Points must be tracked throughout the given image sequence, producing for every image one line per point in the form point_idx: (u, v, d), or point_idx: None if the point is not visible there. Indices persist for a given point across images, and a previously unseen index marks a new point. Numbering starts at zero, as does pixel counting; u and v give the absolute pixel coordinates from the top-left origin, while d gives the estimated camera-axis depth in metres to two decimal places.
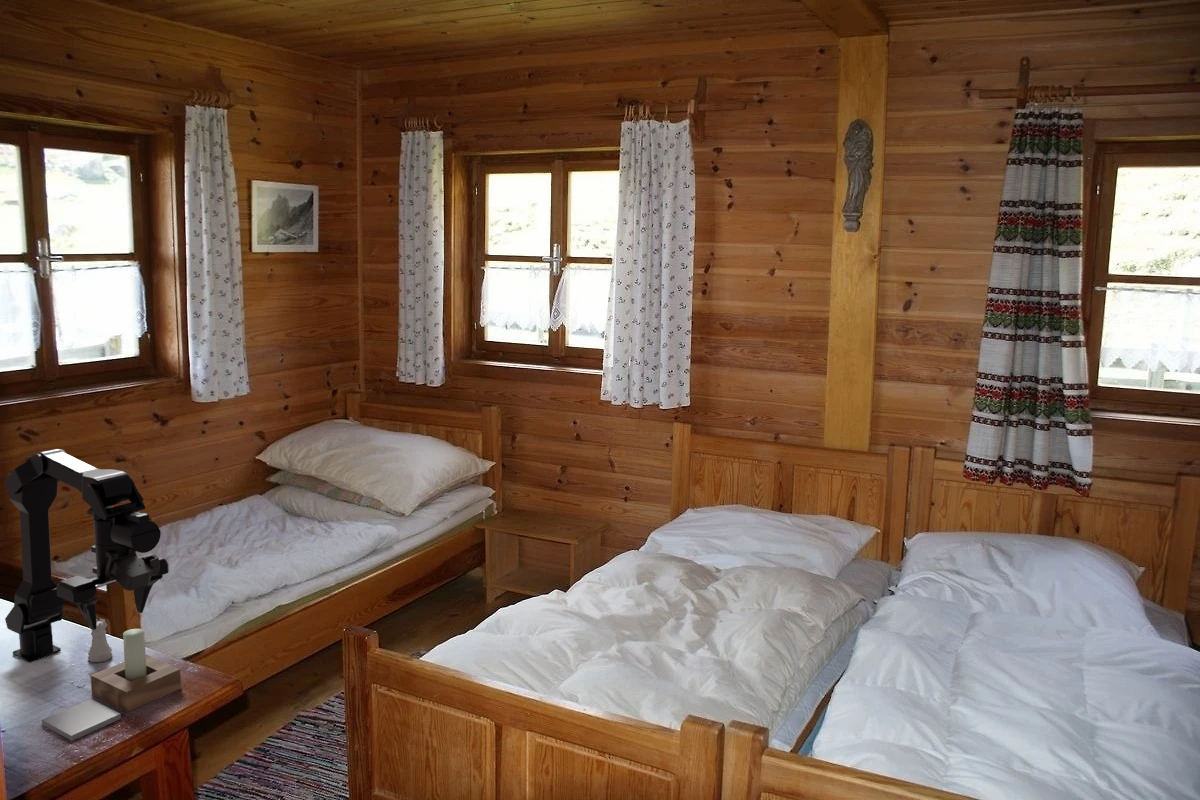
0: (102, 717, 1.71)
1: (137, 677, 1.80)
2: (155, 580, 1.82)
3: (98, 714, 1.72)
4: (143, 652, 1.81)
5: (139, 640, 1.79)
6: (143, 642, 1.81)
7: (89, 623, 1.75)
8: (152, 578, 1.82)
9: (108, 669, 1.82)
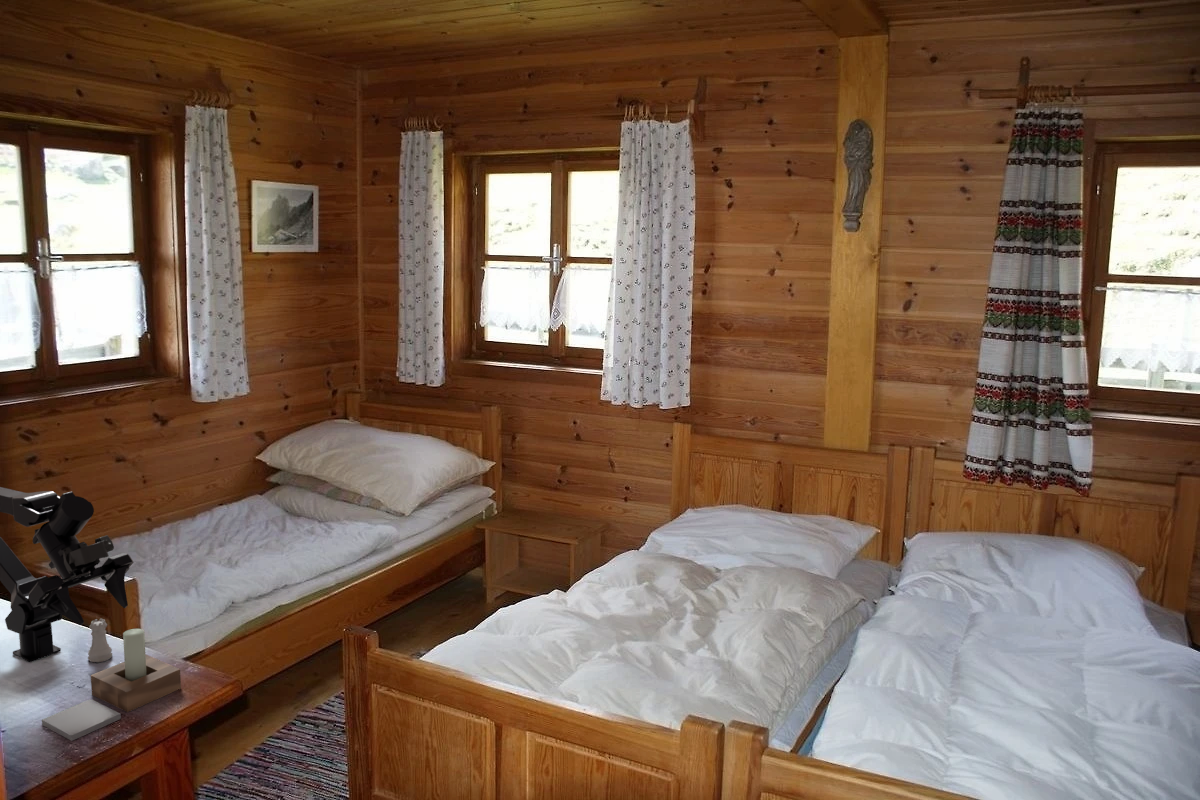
0: (102, 717, 1.71)
1: (137, 677, 1.80)
2: (122, 569, 1.89)
3: (98, 714, 1.72)
4: (143, 652, 1.81)
5: (139, 640, 1.79)
6: (143, 642, 1.81)
7: (75, 619, 1.79)
8: None
9: (108, 669, 1.82)
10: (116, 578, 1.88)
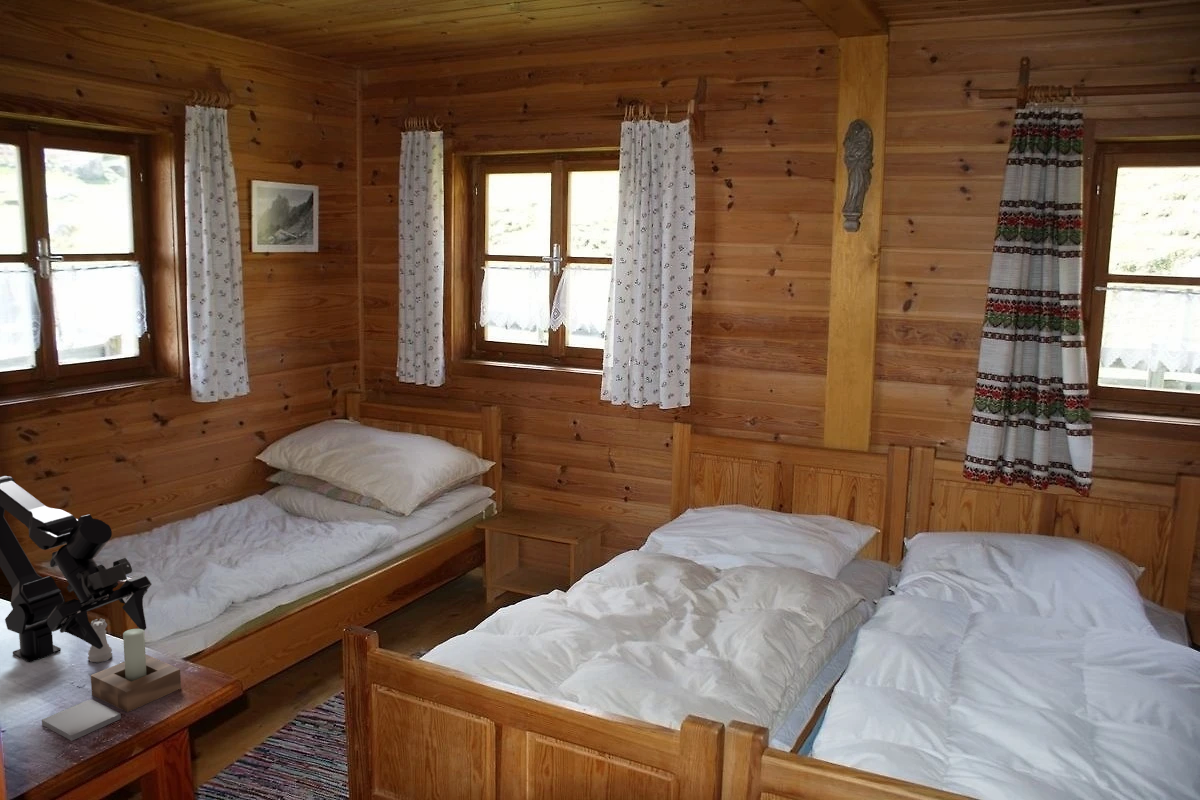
0: (102, 717, 1.71)
1: (137, 677, 1.80)
2: (141, 592, 1.88)
3: (98, 714, 1.72)
4: (143, 652, 1.81)
5: (139, 640, 1.79)
6: (143, 642, 1.81)
7: (94, 644, 1.78)
8: None
9: (108, 669, 1.82)
10: (134, 601, 1.87)
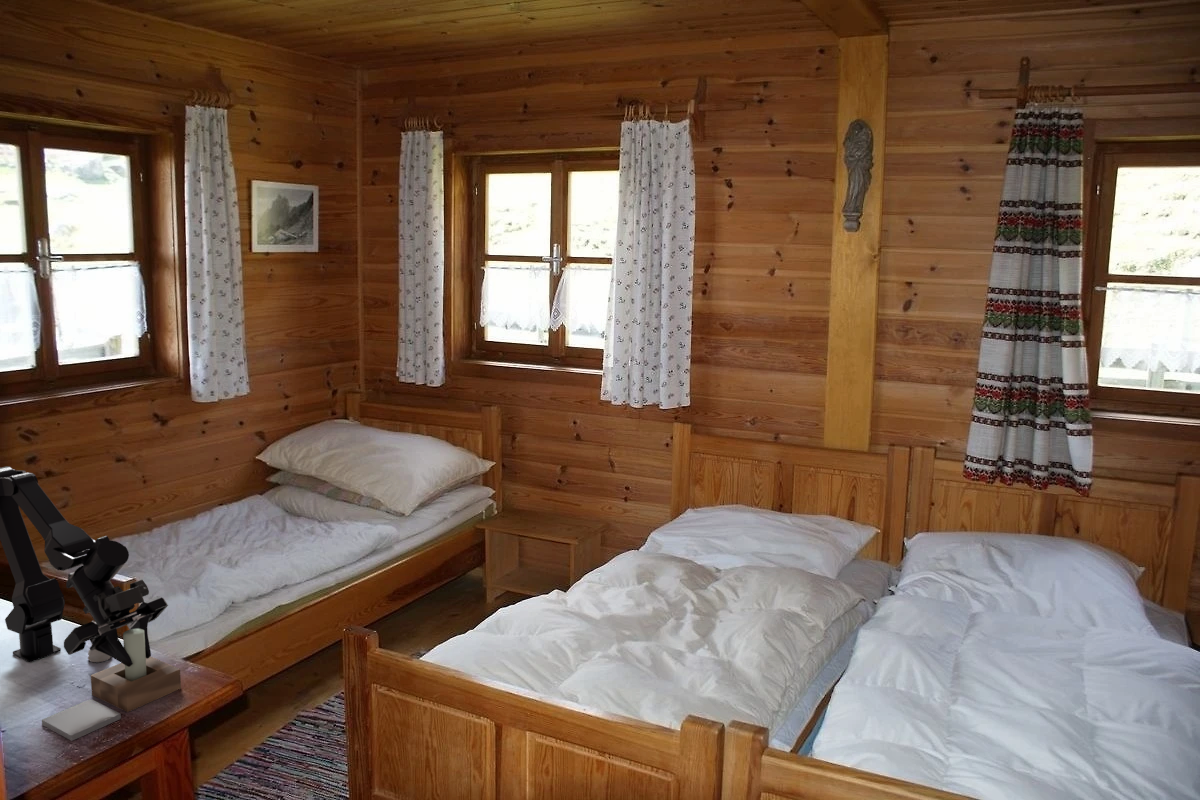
0: (102, 717, 1.71)
1: (137, 677, 1.80)
2: (145, 618, 1.84)
3: (98, 714, 1.72)
4: (143, 652, 1.81)
5: (139, 640, 1.79)
6: (143, 642, 1.81)
7: (124, 661, 1.79)
8: None
9: (108, 669, 1.82)
10: (139, 627, 1.83)
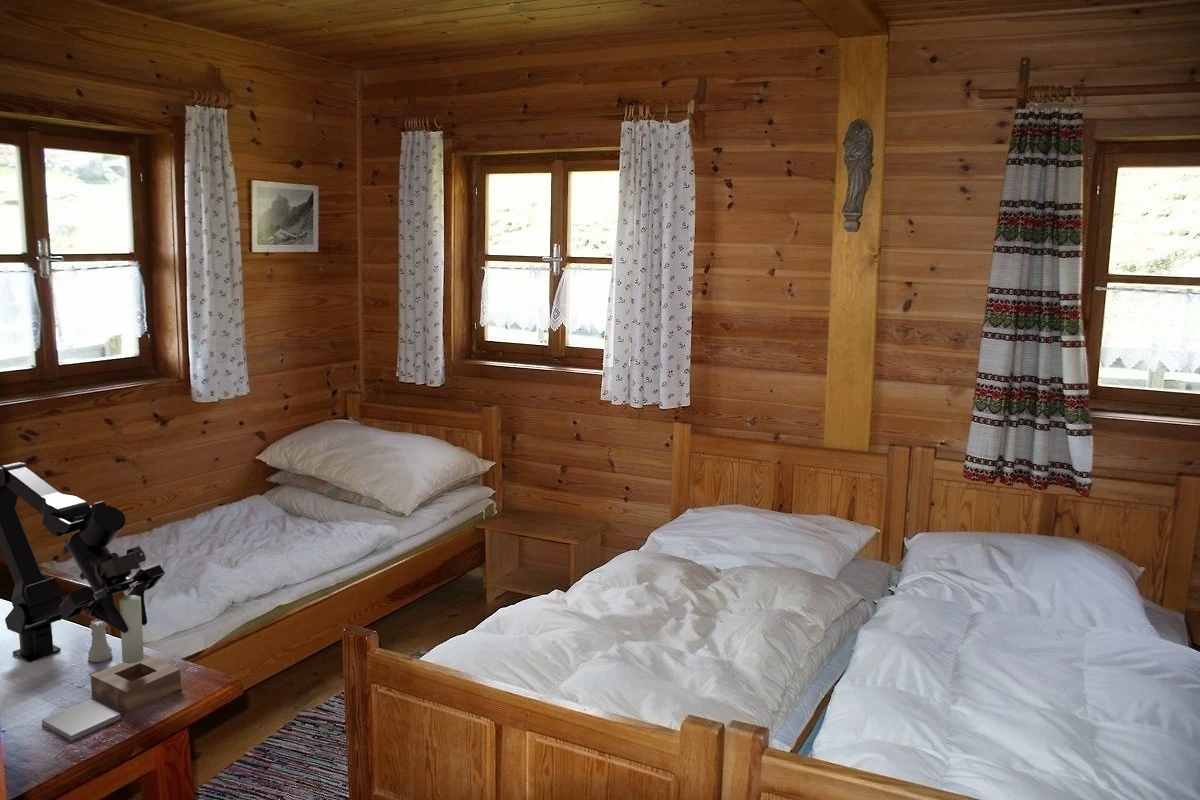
0: (102, 717, 1.71)
1: (133, 644, 1.79)
2: (142, 585, 1.82)
3: (98, 714, 1.72)
4: (139, 618, 1.79)
5: (135, 606, 1.78)
6: (139, 609, 1.79)
7: (120, 628, 1.77)
8: None
9: (108, 669, 1.82)
10: (135, 594, 1.81)
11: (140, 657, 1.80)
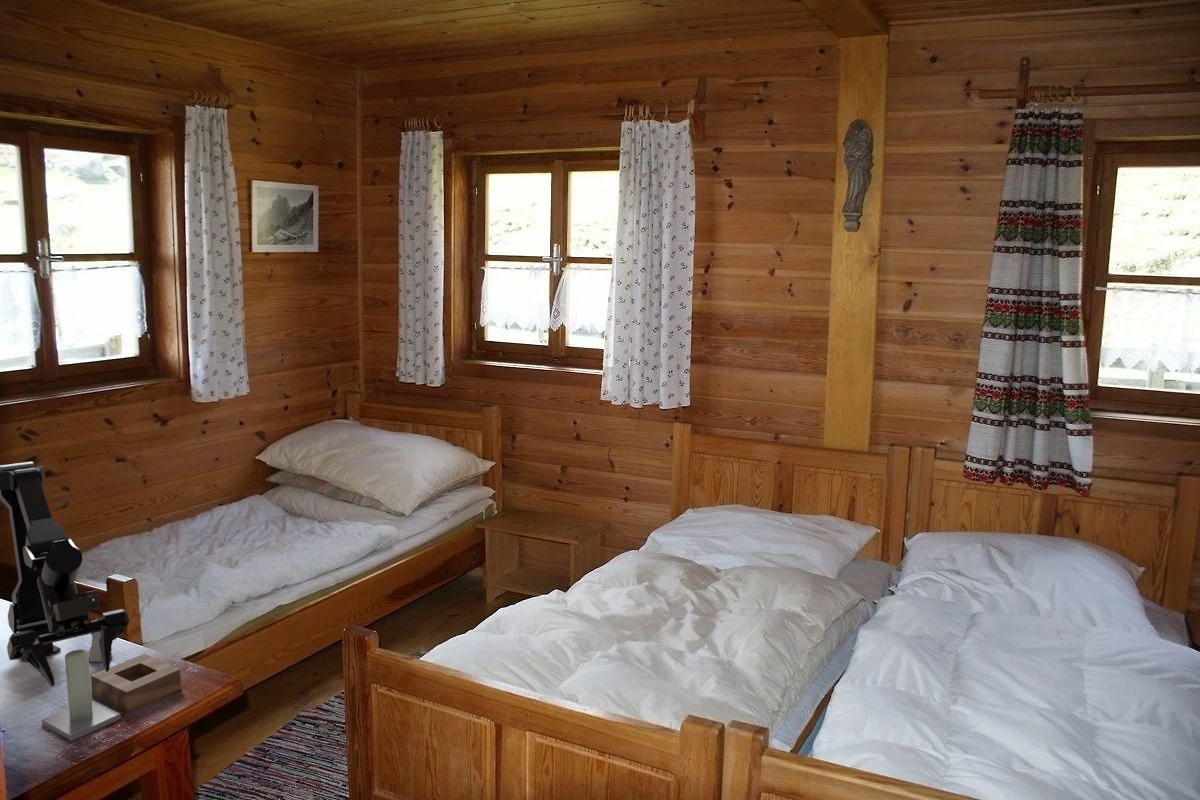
0: (102, 717, 1.71)
1: (76, 702, 1.69)
2: (111, 628, 1.73)
3: (98, 714, 1.72)
4: (84, 676, 1.69)
5: (77, 664, 1.67)
6: (84, 666, 1.68)
7: (47, 679, 1.66)
8: None
9: None
10: (103, 637, 1.73)
11: (86, 716, 1.70)
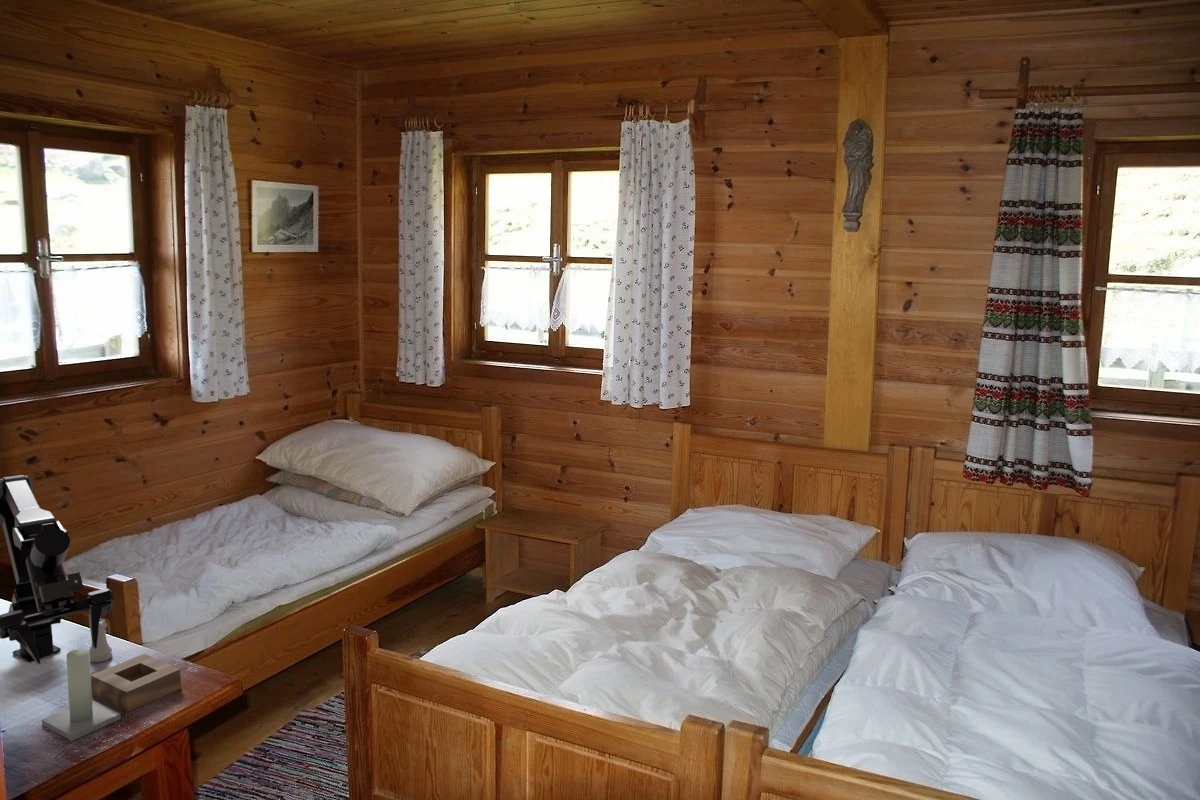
0: (102, 717, 1.71)
1: (77, 701, 1.69)
2: (98, 607, 1.80)
3: (98, 714, 1.72)
4: (85, 675, 1.69)
5: (79, 662, 1.68)
6: (85, 665, 1.69)
7: (34, 658, 1.73)
8: None
9: (108, 669, 1.82)
10: (91, 616, 1.80)
11: (86, 716, 1.70)
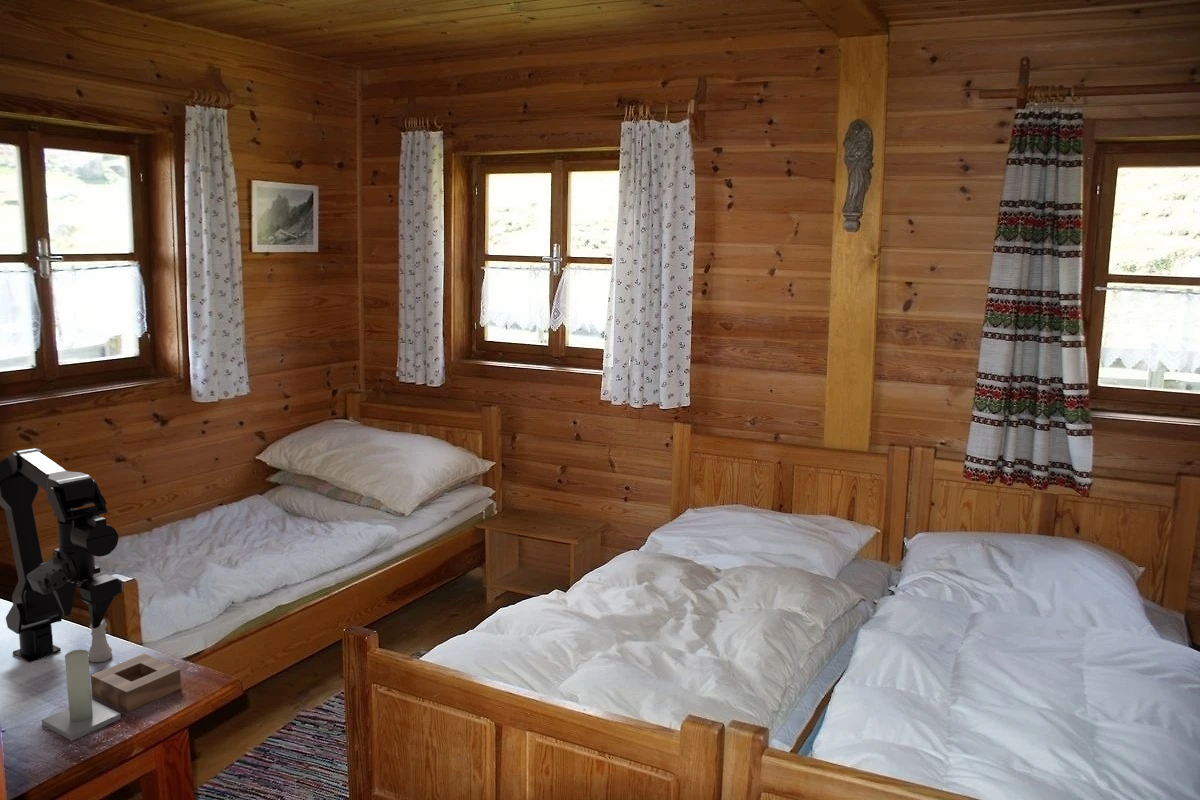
0: (102, 717, 1.71)
1: (77, 702, 1.69)
2: (85, 601, 1.75)
3: (98, 714, 1.72)
4: (84, 676, 1.69)
5: (78, 663, 1.68)
6: (84, 666, 1.69)
7: None
8: None
9: (108, 669, 1.82)
10: None
11: (86, 716, 1.70)
